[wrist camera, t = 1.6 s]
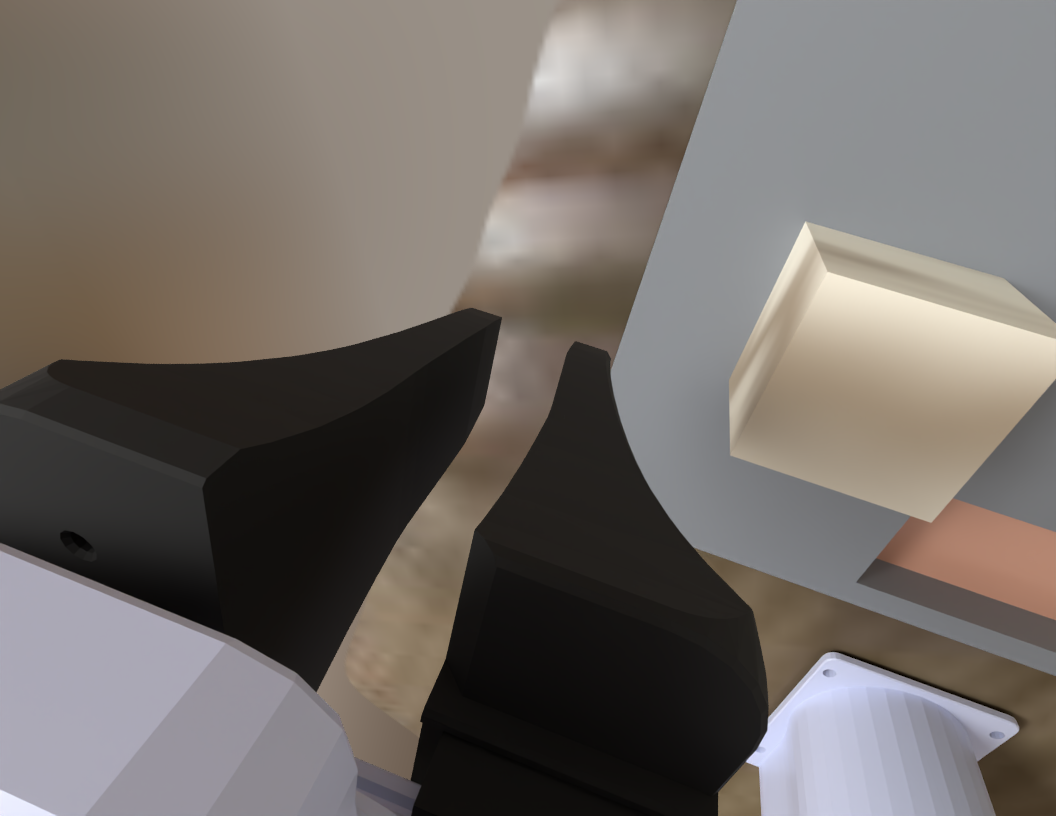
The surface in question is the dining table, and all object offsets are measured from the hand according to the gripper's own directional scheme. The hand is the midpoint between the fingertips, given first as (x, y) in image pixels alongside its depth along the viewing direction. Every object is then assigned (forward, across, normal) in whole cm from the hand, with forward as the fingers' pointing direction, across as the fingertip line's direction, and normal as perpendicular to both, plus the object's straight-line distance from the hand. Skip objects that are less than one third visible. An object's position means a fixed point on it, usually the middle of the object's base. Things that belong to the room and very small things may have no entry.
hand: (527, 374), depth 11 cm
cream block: (+7, -8, 0) cm, 11 cm away
